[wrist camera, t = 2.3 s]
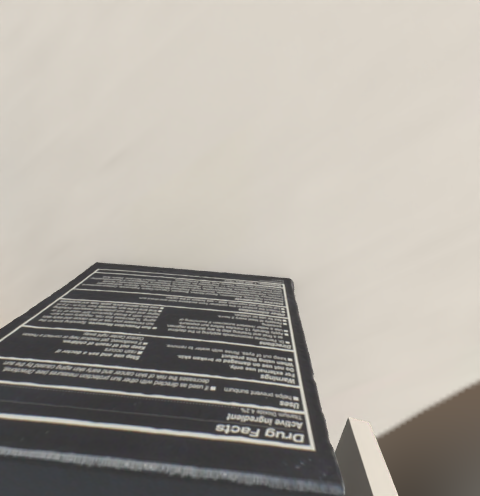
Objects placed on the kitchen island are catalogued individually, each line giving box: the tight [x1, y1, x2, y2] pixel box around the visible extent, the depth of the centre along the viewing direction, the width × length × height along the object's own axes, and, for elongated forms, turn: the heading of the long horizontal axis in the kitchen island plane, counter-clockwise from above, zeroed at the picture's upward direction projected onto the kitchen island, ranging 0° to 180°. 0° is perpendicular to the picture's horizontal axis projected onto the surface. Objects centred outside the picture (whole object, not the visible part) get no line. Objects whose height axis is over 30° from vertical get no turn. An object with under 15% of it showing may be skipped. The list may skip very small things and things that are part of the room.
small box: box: [0, 262, 345, 496], centre depth 12 cm, size 11×6×10 cm, turn 87°
